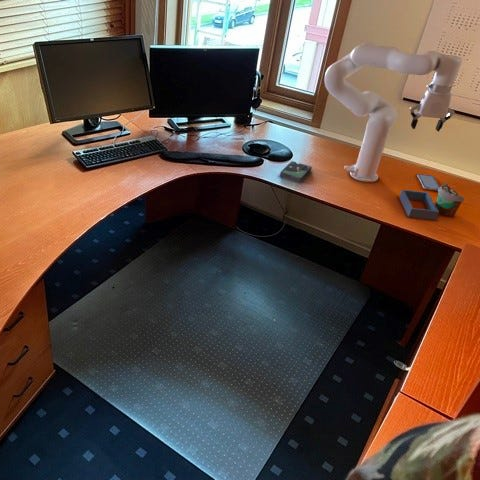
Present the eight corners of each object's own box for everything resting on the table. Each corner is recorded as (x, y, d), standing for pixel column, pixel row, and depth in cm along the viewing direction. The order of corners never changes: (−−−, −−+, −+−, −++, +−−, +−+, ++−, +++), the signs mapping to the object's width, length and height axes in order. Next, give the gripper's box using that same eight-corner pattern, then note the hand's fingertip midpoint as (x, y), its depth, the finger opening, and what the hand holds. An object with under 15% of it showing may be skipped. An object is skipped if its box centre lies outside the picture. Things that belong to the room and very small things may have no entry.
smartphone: (433, 175, 224) (441, 189, 211) (432, 177, 224) (440, 191, 212) (416, 173, 225) (424, 187, 212) (416, 175, 225) (423, 189, 213)
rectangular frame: (408, 217, 193) (411, 208, 191) (399, 197, 206) (402, 189, 204) (435, 220, 192) (439, 211, 189) (424, 200, 205) (427, 192, 203)
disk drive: (290, 166, 229) (279, 177, 219) (291, 160, 228) (280, 171, 217) (310, 171, 225) (300, 183, 214) (312, 166, 223) (302, 177, 213)
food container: (425, 203, 203) (433, 183, 197) (438, 203, 203) (447, 183, 197) (441, 218, 193) (450, 197, 187) (455, 218, 193) (465, 197, 187)
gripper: (420, 89, 186) (405, 130, 196) (466, 93, 184) (449, 134, 193) (415, 83, 192) (401, 123, 202) (460, 87, 190) (444, 127, 199)
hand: (425, 129), depth 198 cm, fingers open, 9 cm apart
